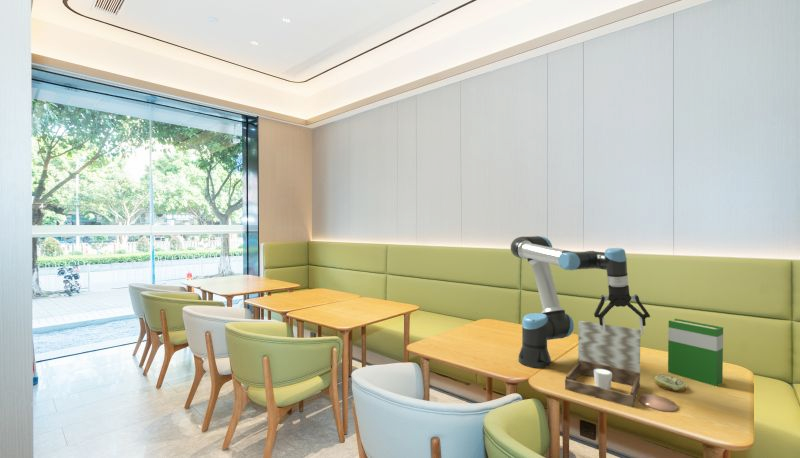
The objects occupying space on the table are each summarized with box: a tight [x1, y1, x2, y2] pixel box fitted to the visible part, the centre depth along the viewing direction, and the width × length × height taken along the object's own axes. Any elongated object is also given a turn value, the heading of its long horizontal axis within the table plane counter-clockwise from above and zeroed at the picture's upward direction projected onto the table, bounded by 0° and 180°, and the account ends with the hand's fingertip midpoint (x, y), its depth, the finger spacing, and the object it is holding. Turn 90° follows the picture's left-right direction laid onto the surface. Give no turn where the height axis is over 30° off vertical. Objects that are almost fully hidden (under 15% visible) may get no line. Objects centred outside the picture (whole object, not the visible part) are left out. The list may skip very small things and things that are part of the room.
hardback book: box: [667, 318, 724, 387], centre depth 165 cm, size 18×7×24 cm, turn 33°
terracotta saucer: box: [638, 393, 678, 412], centre depth 141 cm, size 12×12×1 cm
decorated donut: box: [654, 374, 687, 393], centre depth 155 cm, size 10×11×4 cm
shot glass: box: [593, 369, 612, 390], centre depth 154 cm, size 7×7×7 cm
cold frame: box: [564, 320, 641, 408], centre depth 154 cm, size 24×23×24 cm
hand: (622, 333), depth 158 cm, fingers open, 13 cm apart
